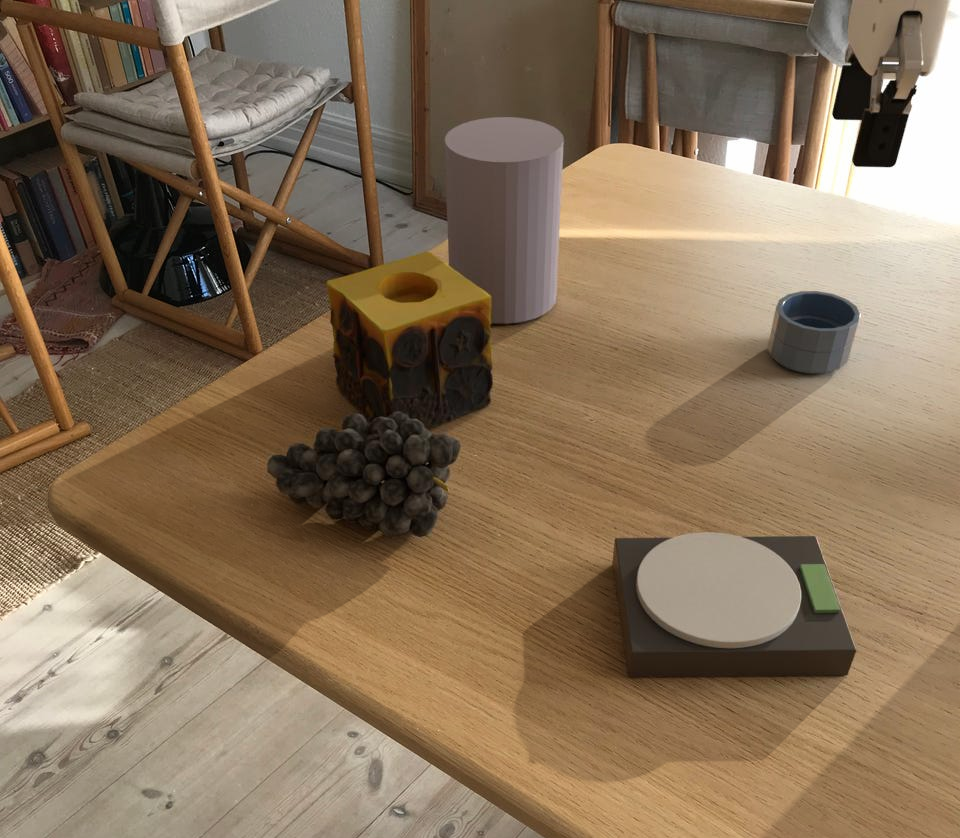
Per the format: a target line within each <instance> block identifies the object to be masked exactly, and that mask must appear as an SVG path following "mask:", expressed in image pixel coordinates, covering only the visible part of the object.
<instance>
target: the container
mask: <svg viewBox="0 0 960 838" xmlns="http://www.w3.org/2000/svg"><path fill="white" fill-rule="evenodd" d="M564 144H565V138H564V135H563V133H562V132H561V131H560V130H559V129H558V128H556V127H554V126H553V125H551V124H548V123H545V122H543V121H540V120H536V119H530V118H524V117H515V116H498V117H497V116H496V117H485V118H479V119H474V120H470V121H468V122H464V123H461V124H459V125H457V126H454V127H453V128H452V129H450V130H449V131H448V132H447V133H446V135H445V137H444V159H445V162H444V163H445V189H446V190H445V191H446V223H447V252H448V253H447V257H448V265H449V266H450V267H451V268H452V269H454V270H455V271H457V272H458V273H460V274H461V275H462V276H464V277H465V278H467V279H468V280H470V281H471V282H473V283H474V284H475V285H477V286H478V287H480V288H481V289H483V290H484V291H486V292H487V293H488V294H489V295H490V296H491V325H502V326H503V325H505V326H508V325H517V324H518V325H519V324H525V323H528V322H531V321H533V320H534V321H535V320H537V319H538V318H540V317H542V316H544V315H546V313H547V314H548V312H550V310H551V309H553V307H554V306H555V304H556V302H557V293H558V291H557V290H558V271H559V269H558V268H559V249H560V229H561V227H560V225H561V206H562V205H561V204H562V186H563V185H562V184H563V183H562V182H563V161H564Z"/></svg>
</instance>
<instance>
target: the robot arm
mask: <svg viewBox="0 0 960 838" xmlns="http://www.w3.org/2000/svg"><path fill="white" fill-rule="evenodd" d="M951 1H952V0H852V2H851V6H850V12H849V18H848V25H847V40H848V45H847V47H846V50H845V54H844V64H843V65H842V67H841V70H840V75H839V80H838V85H837V89H836V92H835V93H836V94H835V98H834V103H833V108H832V111H831V116H832V117H833V120H837V121H860V124H859V129H858V132H857V138H856V142H855V145H854V150H853V154H852V158H851V162H852V164H853V166H854V167H856V168H893V167H894V166H895V165H896V164H897V160H898V158H899V154H900V149H901V146H902V142H903V138H904V135H905V132H906V127H907V123H908V121H909V116H910V113H911V111H912V107H913V103H914V102H913V101H914V95H916V94H917V90H918V89H917V87H918V85H916V83H917V82H918V79H919V77H927V76H929V75H930V74H932V72H933V71H934V69H935V67H936V65H937V64H936V63H937V60H938V57H939V51H940V47H941V43H942V40H943V35H944V31H945V27H946V22H947V18H948V15H949V10H950V5H951ZM884 80H889V81H888V83H887V85H885V88H884ZM883 88H884V89H883Z"/></svg>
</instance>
